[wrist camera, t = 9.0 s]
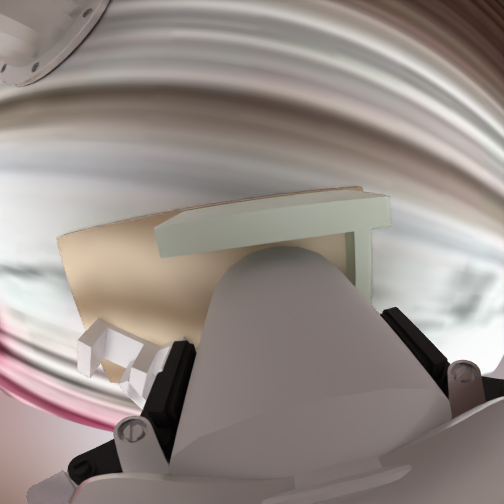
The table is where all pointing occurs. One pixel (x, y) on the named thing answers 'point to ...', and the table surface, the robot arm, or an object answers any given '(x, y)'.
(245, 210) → the bracket
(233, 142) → the table surface
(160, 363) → the clip
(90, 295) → the board
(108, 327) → the clip
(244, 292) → the can
